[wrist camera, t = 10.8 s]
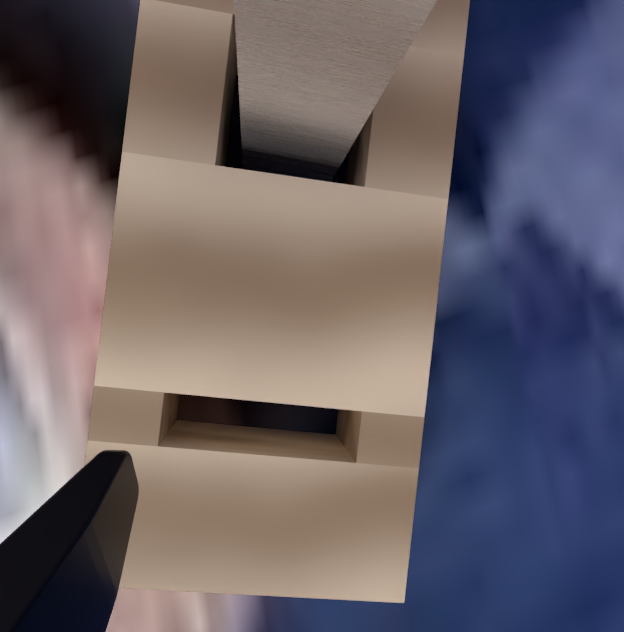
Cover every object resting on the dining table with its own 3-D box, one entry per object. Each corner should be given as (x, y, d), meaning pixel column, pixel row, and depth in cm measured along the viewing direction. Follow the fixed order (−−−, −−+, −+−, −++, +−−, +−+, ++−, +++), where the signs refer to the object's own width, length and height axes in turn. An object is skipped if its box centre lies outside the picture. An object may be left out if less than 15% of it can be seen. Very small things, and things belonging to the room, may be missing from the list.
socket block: (374, 547, 20) (404, 603, 16) (107, 530, 19) (70, 585, 15) (430, 38, 21) (473, -29, 17) (171, -9, 20) (151, -92, 16)
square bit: (326, 189, 20) (460, -39, 7) (243, 174, 20) (229, -96, 7) (338, 107, 20) (494, -263, 7) (256, 90, 20) (267, -330, 7)
